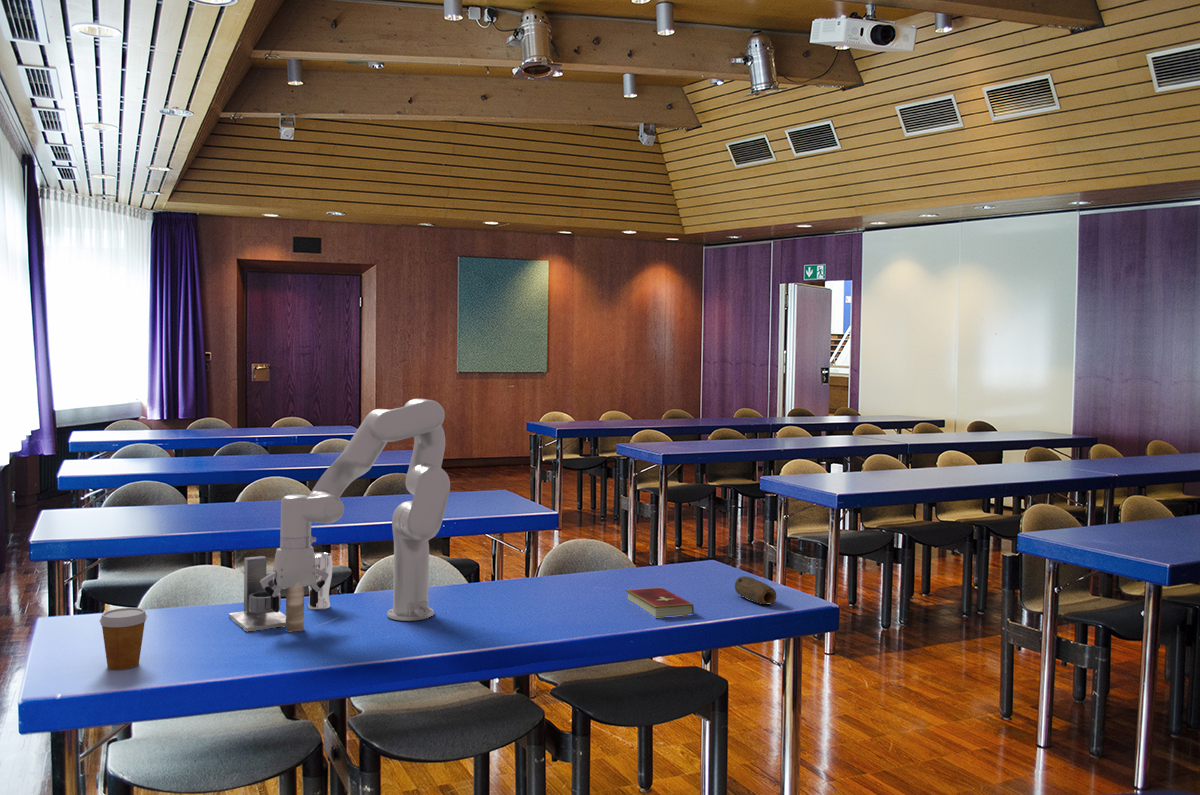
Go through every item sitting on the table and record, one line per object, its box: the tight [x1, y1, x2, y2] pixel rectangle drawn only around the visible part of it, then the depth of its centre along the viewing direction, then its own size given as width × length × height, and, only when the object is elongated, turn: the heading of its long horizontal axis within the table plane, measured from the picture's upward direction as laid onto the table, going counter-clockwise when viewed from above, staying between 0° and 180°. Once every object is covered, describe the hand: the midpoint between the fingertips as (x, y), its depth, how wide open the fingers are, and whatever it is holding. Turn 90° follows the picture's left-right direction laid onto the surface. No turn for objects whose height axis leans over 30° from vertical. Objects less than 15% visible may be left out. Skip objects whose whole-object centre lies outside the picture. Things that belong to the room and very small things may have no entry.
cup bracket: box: [228, 555, 286, 633], centre depth 241 cm, size 17×12×16 cm
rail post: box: [285, 582, 305, 632], centre depth 234 cm, size 4×4×14 cm
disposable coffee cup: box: [99, 607, 148, 671], centre depth 204 cm, size 10×10×12 cm
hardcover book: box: [626, 586, 695, 617], centre depth 263 cm, size 12×21×4 cm, turn 21°
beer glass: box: [307, 552, 333, 611], centre depth 257 cm, size 7×7×15 cm
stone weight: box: [734, 575, 777, 605], centre depth 274 cm, size 15×7×7 cm, turn 29°
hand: (294, 608), depth 234 cm, fingers open, 9 cm apart
